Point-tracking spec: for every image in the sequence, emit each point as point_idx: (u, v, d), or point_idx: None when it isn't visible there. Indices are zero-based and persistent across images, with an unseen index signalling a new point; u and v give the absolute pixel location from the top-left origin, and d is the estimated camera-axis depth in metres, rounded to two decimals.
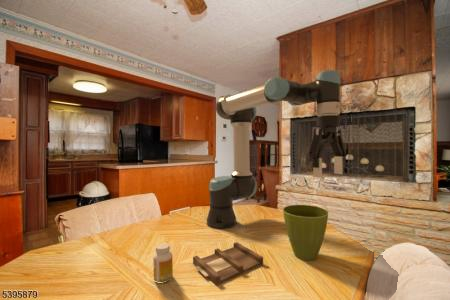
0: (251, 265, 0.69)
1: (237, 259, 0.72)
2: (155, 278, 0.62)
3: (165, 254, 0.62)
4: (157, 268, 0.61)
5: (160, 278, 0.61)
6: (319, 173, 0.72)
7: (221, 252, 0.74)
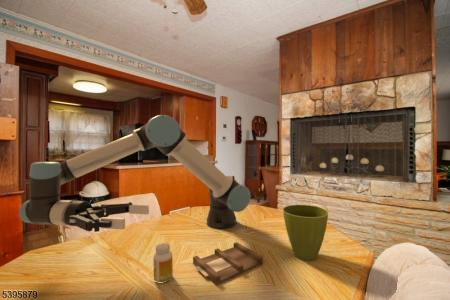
0: (251, 265, 0.69)
1: (237, 259, 0.72)
2: (155, 278, 0.62)
3: (165, 254, 0.62)
4: (157, 268, 0.61)
5: (160, 278, 0.61)
6: None
7: (221, 252, 0.74)
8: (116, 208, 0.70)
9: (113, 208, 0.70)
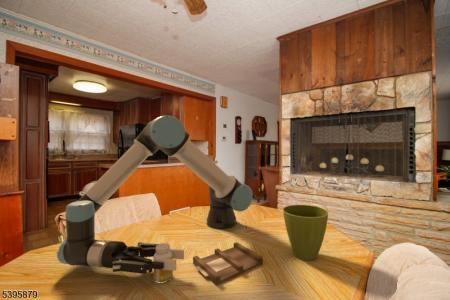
0: (251, 265, 0.69)
1: (237, 259, 0.72)
2: (155, 278, 0.62)
3: (165, 254, 0.62)
4: None
5: (160, 278, 0.61)
6: None
7: (221, 252, 0.74)
8: (149, 251, 0.67)
9: (146, 250, 0.67)
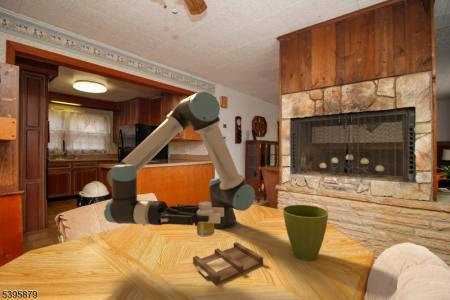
0: (251, 265, 0.69)
1: (237, 259, 0.72)
2: (199, 232, 0.65)
3: (208, 209, 0.66)
4: None
5: (204, 232, 0.65)
6: None
7: (221, 252, 0.74)
8: (190, 209, 0.70)
9: (187, 209, 0.70)
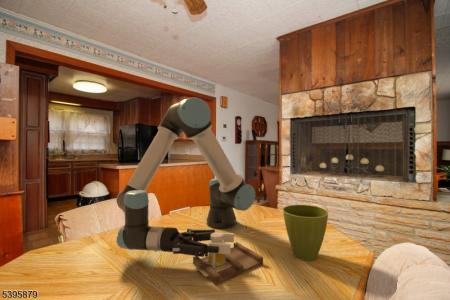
0: (251, 265, 0.69)
1: (237, 259, 0.72)
2: (211, 264, 0.66)
3: (220, 242, 0.67)
4: (213, 255, 0.66)
5: (216, 264, 0.66)
6: None
7: None
8: (201, 235, 0.72)
9: (199, 235, 0.72)
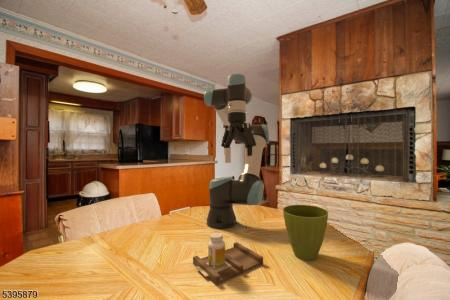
0: (251, 265, 0.69)
1: (237, 259, 0.72)
2: (211, 264, 0.66)
3: (220, 242, 0.67)
4: (213, 255, 0.66)
5: (216, 264, 0.66)
6: None
7: None
8: (231, 140, 0.94)
9: (232, 138, 0.94)
